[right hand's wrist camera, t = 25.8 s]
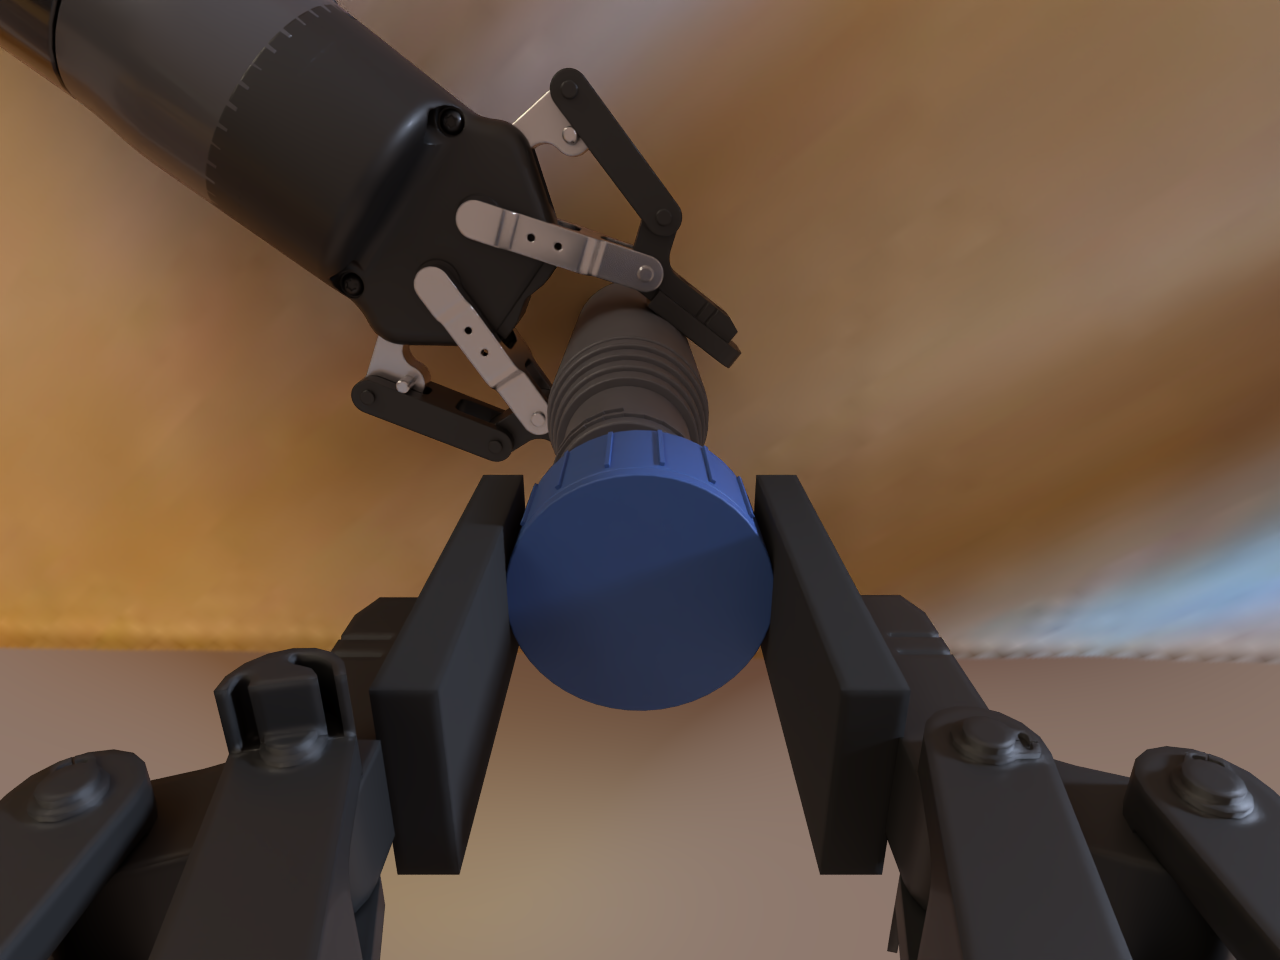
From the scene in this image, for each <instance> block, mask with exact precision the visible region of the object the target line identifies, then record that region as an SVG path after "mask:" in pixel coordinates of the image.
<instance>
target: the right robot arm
mask: <svg viewBox="0 0 1280 960" xmlns="http://www.w3.org/2000/svg"><path fill="white" fill-rule="evenodd" d="M524 512H525V498H524V481H523V475H483V477H482V478H481V480H480V482H479V484H478V486H477V488H476V490H475V492H474V493H473V495H472V497H471V499H470V501H469V503H468V505H467V507H466V508H465V510H464V512H463V514H462V516H461V518H460V520H459V522H458V523H457V525H456V527H455V529H454V531H453V533H452V535H451V537H450V538H449V540H448V542H447V544H446V546H445V548H444V550H443V552H442V553H441V555H440V557H439V559H438V561H437V563H436V565H435V567H434V568H433V570H432V572H431V574H430V576H429V578H428V580H427V582H426V583H425V585H424V587H423V589H422V591H421V593H420V595H419V597H380V598H378V599H377V600H376V601H374V602H373V603H371V604H370V605H369V606H367V607H366V608H364V609H363V610H361V611H360V612H359V613H357V614H356V615H355V616H354V617H353V619H352V620H351V622H350V623H349V625H348V626H347V628H346V629H345V631H344V633H343V634H342V636H341V640H338V642H337V643H336V645H335V646H334V648H333V649H332V651H331V652H329V651H325V650H321V649H317V648H292V649H288V650H283V651H278V652H274V653H269V654H266V655H264V656H262V657H259V658H257V659H254V660H252V661H249V662H247V663H245V664H243V665H242V666H240V667H239V668H237V669H236V670H234V671H233V672H231V673H230V674H228V675H227V676H225V678H224V679H223V680H222V681H221V683H220V684H219V685H218V686H217V688H216V689H215V690H214V695H215V699H216V703H217V707H218V711H219V715H220V719H221V723H222V727H223V731H224V735H225V739H226V743H227V747H228V751H229V756H228V758H227V761H226V763H223V764H219V765H216V766H212V767H209V768H205V769H201V770H197V771H192V772H188V773H183V774H178V775H174V776H169V777H165V778H160V779H156V780H151V781H150V778H149V775H148V771H147V768H146V765H145V762H144V761H143V760H141V759H140V758H139V757H138V756H137V755H135V754H134V753H131V752H126V751H120V750H105V751H96V752H88V753H85V754H81V755H78V756H75V757H71V758H68V759H65V760H62V761H59V762H57V763H55V764H53V765H51V766H49V767H48V768H45V769H44V770H42V771H40V772H38V773H36V774H34V775H32V776H30V777H29V778H28V779H26V780H25V781H24V782H22V783H21V784H20V785H18V786H17V787H16V788H14V789H13V790H12V791H10V792H9V793H8V794H7V795H6V796H4V797H3V798H2V799H1V800H0V960H380V953H381V942H382V932H383V921H384V911H385V902H384V895H383V889H382V883H381V877H380V874H381V871H382V869H383V866H384V863H385V861H386V858H387V855H388V853H389V850H390V847H391V845H392V842H393V848H394V855H395V861H396V867H397V874H398V875H459V874H460V870H461V866H462V862H463V859H464V855H465V851H466V847H467V843H468V839H469V835H470V832H471V828H472V824H473V820H474V816H475V812H476V808H477V805H478V801H479V797H480V793H481V789H482V785H483V782H484V778H485V774H486V770H487V766H488V762H489V758H490V755H491V751H492V747H493V743H494V739H495V735H496V732H497V728H498V724H499V720H500V716H501V712H502V708H503V705H504V701H505V697H506V693H507V689H508V686H509V682H510V678H511V674H512V670H513V666H514V662H515V659H516V655H517V651H518V647H519V644H518V642H517V640H516V638H515V636H514V634H513V632H512V629H511V626H510V623H509V612H508V598H507V584H506V571H507V568H508V564H509V560H510V556H511V554H512V551H513V548H514V545H515V542H516V539H517V536H518V533H519V530H520V528H521V525H520V523H521V521H522V518H523V515H524ZM754 515H755V517H756V519H757V522H758V525H759V528H760V531H761V534H762V537H763V540H764V543H765V546H766V548H767V551H768V554H769V557H770V561H771V564H772V568H773V591H772V605H771V618H770V626H769V628H768V631H767V633H766V636H765V638H764V640H763V642H762V644H761V649H762V653H763V657H764V660H765V664H766V668H767V672H768V676H769V680H770V683H771V687H772V691H773V695H774V699H775V703H776V707H777V710H778V714H779V718H780V722H781V726H782V730H783V733H784V737H785V741H786V745H787V749H788V753H789V756H790V760H791V764H792V768H793V772H794V776H795V780H796V783H797V787H798V791H799V795H800V799H801V802H802V807H803V810H804V814H805V818H806V822H807V826H808V829H809V833H810V837H811V841H812V845H813V849H814V853H815V857H816V860H817V864H818V868H819V872H820V874H821V875H882V871H883V864H884V858H885V852H886V845H887V840H888V842H889V845H890V848H891V850H892V853H893V855H894V858H895V861H896V863H897V866H898V869H899V872H900V877H899V883H898V889H897V895H896V901H895V907H894V913H893V918H892V924H891V930H890V937H889V943H888V950H887V951H890V952H895V953H897V950H898V945H899V951H900V960H1280V796H1279V795H1278V794H1277V793H1276V792H1275V791H1273V790H1272V789H1271V788H1270V787H1268V786H1267V785H1266V784H1264V783H1263V782H1262V781H1260V780H1259V779H1258V778H1256V777H1255V776H1254V775H1252V774H1251V773H1250V772H1248V771H1246V770H1244V769H1242V768H1240V767H1238V766H1236V765H1234V764H1232V763H1230V762H1228V761H1226V760H1224V759H1222V758H1219V757H1216V756H1214V755H1211V754H1206V753H1205V752H1200V751H1197V750H1194V749H1187V748H1178V747H1169V746H1165V747H1159V748H1154V749H1147V750H1146V751H1145V752H1143V753H1142V754H1141V755H1140V756H1139V757H1137V758H1136V759H1135V763H1134V766H1133V769H1132V773H1131V776H1130V777H1125V776H1120V775H1116V774H1111V773H1107V772H1102V771H1098V770H1093V769H1088V768H1084V767H1079V766H1075V765H1072V764H1068V763H1064V762H1061V761H1057V760H1054V759H1053V757H1052V754H1051V752H1050V751H1049V749H1048V748H1047V747H1046V745H1045V743H1044V742H1043V741H1042V739H1041V738H1040V737H1039V736H1038V735H1037V734H1036V733H1034V732H1033V731H1032V730H1030V729H1029V728H1028V727H1026V726H1025V725H1024V724H1023V723H1021V722H1019V721H1017V720H1015V719H1013V718H1010V717H1008V716H1006V715H1004V714H1002V713H1000V712H996V711H992V710H989V709H988V707H987V706H986V704H985V703H984V701H983V700H982V698H981V697H980V695H979V694H978V692H977V691H976V689H975V688H974V686H973V685H972V683H971V682H970V680H969V679H968V677H967V676H966V674H965V672H964V671H963V669H962V668H961V666H960V665H959V663H958V662H957V660H956V659H955V657H954V656H953V655H950V650H949V648H948V647H947V645H946V644H945V642H944V641H943V639H942V638H941V637H939V635H938V634H939V633H938V632H937V630H936V629H935V627H934V626H933V624H932V623H931V621H930V620H929V618H928V617H927V615H926V614H925V612H923V611H922V610H920V609H919V608H918V607H916V606H915V605H913V604H912V603H910V602H909V601H908V600H906V599H905V598H903V597H902V596H901V595H860V594H859V592H858V590H857V588H856V586H855V584H854V583H853V581H852V579H851V577H850V575H849V573H848V571H847V569H846V568H845V566H844V564H843V562H842V560H841V558H840V556H839V554H838V553H837V551H836V549H835V547H834V545H833V543H832V541H831V539H830V538H829V536H828V534H827V532H826V530H825V528H824V526H823V524H822V523H821V521H820V519H819V517H818V515H817V513H816V511H815V509H814V507H813V506H812V504H811V502H810V500H809V498H808V496H807V494H806V492H805V491H804V489H803V487H802V485H801V483H800V481H799V479H798V477H797V476H796V475H756V490H755V506H754Z"/></svg>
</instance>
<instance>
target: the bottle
mask: <svg viewBox="0 0 1280 960" xmlns="http://www.w3.org/2000/svg"><path fill="white" fill-rule="evenodd" d="M708 416H709V410H708V400H707V396H706V392H705V389H704V386H703V383H702V380H701V377H700V375H699V372H698V369H697V366H696V363H695V360H694V358H693V355H692V352H691V349H690V346H689V343H688V341H687V338H686V336H685V335H683V334H682V333H681V332H680V331H678V330H677V329H676V328H675V327H674V326H672V325H671V324H670V323H669V322H667V321H666V320H664V319H663V318H661V317H660V316H659V315H658V314H656V313H655V312H654V311H652V310H651V309H650V308H648V307H647V299H646V297H645V296H644V295H642V294H641V293H640V292H638V291H637V290H635V289H632V288H628V287H625V286H622V285H619V284H616V283H613V284H610V285H608V286H606V287H604V288H602V289H600V290H599V291H598V292H596V293H595V294H594V295H593V296H592V297H591V298H590V299H589V300H588V301H587V302H586V304H585V305H584V307H583V309H582V310H581V313H580V315H579V318H578V320H577V323H576V325H575V328H574V331H573V333H572V336H571V338H570V341H569V344H568V346H567V349H566V351H565V354H564V357H563V359H562V362H561V364H560V367H559V370H558V372H557V375H556V377H555V380H554V382H553V385H552V388H551V391H550V395H549V399H548V406H547V426H548V433H549V438H550V441H551V444H552V447H553V449H554V452H555V455H556V458H555V461H554V464H555V463H556V462H557V461H558V460H559V459H560V458H561V457H563V456H564V452H566V451H567V450H568V451H569V452H570V451H571V450H573V449H574V448H576V447H578V446H579V445H581V444H583V443H585V442H587V441H589V440H592V439H595V438H597V437H600V436H603V435H607V434H608V432H613V433H615V432H621V431H631V430H651V431H657V430H662V432H664V433H669V434H673V435H676V436H680V437H683V438H685V439H688V440H690V441H692V442H695V443H697V444H699V445H700V446H702V447H703V446H704V443H705V440H706V436H707V431H708ZM554 464H553V465H554Z"/></svg>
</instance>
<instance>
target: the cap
mask: <svg viewBox="0 0 1280 960" xmlns="http://www.w3.org/2000/svg"><path fill="white" fill-rule="evenodd" d="M520 525H521V528H520V530H519V533H518V536H517V539H516V542H515V545H514V548H513V551H512V554H511V556H510V560H509V564H508V568H507V571H506V584H507V598H508V612H509V623H510V626H511V629H512V632H513V634H514V636H515V638H516V640H517V642H518V644H519V646H520V648H521V649H522V651H523V652H524V654H525V655H526V656H527V658H528V659H529V661H530V662H531V663H532V664H533V665H534V666H535V667H536V668H537V669H538V670H539V672H540V673H542V674H543V675H544V676H545V677H546V678H548V679H549V680H550V681H551V682H552V683H554V684H555V685H557V686H558V687H560V688H561V689H563V690H564V691H566V692H568V693H570V694H572V695H574V696H576V697H578V698H580V699H583V700H586V701H588V702H591V703H594V704H597V705H601V706H605V707H609V708H615V709H622V710H640V711H646V710H658V709H665V708H670V707H675V706H679V705H682V704H686V703H689V702H692V701H694V700H697V699H699V698H701V697H704V696H706V695H708V694H710V693H711V692H713V691H715V690H717V689H718V688H720V687H722V686H723V685H724V684H726V683H727V682H728V681H730V680H731V679H732V678H734V677H735V676H736V675H737V674H738V673H739V672H740V671H741V670H742V669H743V668H744V667H745V666H746V665H747V664H748V662H749V661H750V660H751V659H752V657H753V656H754V655H755V654H756V652H757V650H758V649H759V647H760V645H761V644H762V642H763V640H764V638H765V636H766V633H767V631H768V628H769V626H770V618H771V605H772V591H773V568H772V564H771V561H770V557H769V554H768V551H767V548H766V546H765V543H764V540H763V537H762V534H761V531H760V528H759V525H758V522H757V519H756V517H755V515H754V512H753V509H752V506H751V503H750V500H749V498H748V495H747V493H746V491H745V488H744V485H743V482H742V479H741V478H740V476H738V477H736V476H735V474H734V473H733V471H732V470H731V469H730V468H729V467H728V466H727V465H726V464H725V463H724V462H723V461H722V460H721V459H719V458H718V457H717V456H715V455H714V454H713V453H712V452H710V451H709V450H708V447H706V446H705V445H704V446H703V447H702V446H700V445H699V444H697V443H695V442H692V441H690V440H688V439H685V438H683V437H680V436H676V435H673V434H669V433H664V432H662V430H657V431H651V430H631V431H621V432H615V433H613V432H608V434H607V435H603V436H600V437H597V438H595V439H592V440H589V441H587V442H585V443H583V444H581V445H579V446H578V447H576V448H574V449H573V450H571V451H570V452H569V451H568V450H567V451H566V452H564V456H563V457H561V458H560V459H559V460H558V461H557V462H556V463H555V464H554V465H553V466H552V467H551V468H550V469H549V470H548V471H547V473H546V474H545V475H544V476H543V478H542V479H541V481H540V482H539V484H536V483H535V485H534V486H533V489H532V492H531V495H530V498H529V501H528V503H527V506H526V509H525V512H524V515H523V518H522V521H521V523H520Z"/></svg>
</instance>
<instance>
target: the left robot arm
mask: <svg viewBox="0 0 1280 960" xmlns="http://www.w3.org/2000/svg"><path fill="white" fill-rule="evenodd" d="M0 47H1V48H3V49H4V50H6V51H7V52H9V53H10V54H11V55H13V56H14V57H16V58H17V59H19V60H20V61H21V62H23V63H24V64H26V65H27V66H29V67H30V68H31V69H33V70H34V71H36V72H37V73H39V74H40V75H41V76H43V77H44V78H46V79H47V80H49V81H50V82H51V83H53V84H54V85H56V86H57V87H59V88H60V89H62V90H63V91H64V92H66V93H67V94H69V95H70V96H72V97H73V98H74V99H77V100H78V101H79V102H80V103H81V104H83V105H84V106H85V107H87V108H88V109H89V110H91V111H92V112H93V113H94V114H96V115H97V116H98V117H99V118H100V119H101V120H103V121H104V122H105V123H106V124H107V125H108V126H109V127H111V128H112V129H113V130H114V131H115V132H116V133H117V134H118V135H119V136H120V137H122V138H123V139H124V140H125V141H126V142H127V143H128V144H130V145H131V146H132V147H133V148H134V149H135V150H137V151H138V152H139V153H140V154H142V155H143V156H144V157H146V158H147V159H148V160H150V161H151V162H152V163H154V164H155V165H157V166H158V167H159V168H161V169H162V170H164V171H165V172H167V173H168V174H170V175H171V176H172V177H174V178H175V179H177V180H178V181H180V182H181V183H182V184H184V185H185V186H187V187H188V188H190V189H191V190H193V191H194V192H195V193H197V194H198V195H200V196H201V197H203V198H204V199H205V200H207V201H208V202H210V203H211V204H213V205H214V206H216V207H217V208H218V209H220V210H221V211H223V212H224V213H226V214H227V215H228V216H230V217H231V218H233V219H234V220H236V221H237V222H238V223H240V224H241V225H243V226H244V227H246V228H247V229H249V230H250V231H252V232H253V233H254V234H256V235H257V236H259V237H260V238H262V239H263V240H264V241H266V242H267V243H269V244H270V245H272V246H273V247H274V248H276V249H277V250H279V251H280V252H282V253H283V254H285V255H286V256H287V257H289V258H290V259H292V260H293V261H295V262H296V263H297V264H299V265H300V266H302V267H303V268H305V269H306V270H307V271H309V272H310V273H312V274H313V275H315V276H316V277H318V278H319V279H320V280H322V281H323V282H325V283H326V284H328V285H329V286H331V287H332V288H334V289H335V290H337V291H338V292H340V293H342V294H343V295H345V296H346V297H348V298H349V299H351V300H352V301H353V302H354V303H355V304H356V305H357V306H358V307H359V308H360V310H361V311H362V312H363V314H364V315H365V317H366V319H367V321H368V322H369V324H370V326H371V328H372V329H373V330H374V331H375V333H376V334H377V335H378V338H377V342H376V345H375V348H374V352H373V355H372V359H371V362H370V365H369V369H368V372H367V375H366V377H365V378H364V379H362V380H361V381H360V382H358V383H357V384H356V385H355V386H354V387H353V389H352V393H351V397H352V401H353V403H354V405H355V406H356V407H357V408H358V409H359V410H361V411H363V412H365V413H367V414H370V415H373V416H375V417H378V418H381V419H383V420H386V421H388V422H391V423H394V424H396V425H399V426H401V427H404V428H407V429H409V430H412V431H415V432H417V433H420V434H422V435H425V436H428V437H430V438H433V439H435V440H438V441H441V442H443V443H446V444H449V445H451V446H454V447H456V448H459V449H462V450H464V451H467V452H470V453H472V454H475V455H477V456H480V457H483V458H485V459H488V460H491V461H495V462H499V461H503V460H505V459H507V458H508V457H509V455H510V454H511V452H512V451H514V450H516V449H517V448H519V447H520V446H522V445H523V444H525V443H527V442H528V441H530V440H533V439H546V440H548V441H550V438H549V433H548V426H547V406H548V399H549V395H550V391H551V388H552V384H551V382H550V381H549V380H548V378H547V377H546V375H545V374H544V373H543V371H542V370H541V368H540V367H539V366H538V364H537V363H536V361H535V360H534V358H533V357H532V354H531V351H530V349H529V347H528V345H527V344H526V342H525V341H524V340H523V338H522V337H521V335H520V334H519V333H518V331H517V330H516V328H515V326H516V325H517V323H518V322H519V321H520V319H521V318H522V316H523V315H524V313H525V311H526V309H527V306H528V303H529V300H530V297H531V294H533V293H534V292H535V291H536V290H538V289H539V288H540V287H541V286H542V285H544V283H545V282H546V281H547V280H548V279H549V278H550V276H551V275H552V273H553V272H554V270H555V269H556V268H557V266H558V267H561V268H564V269H567V270H570V271H573V272H576V273H580V274H583V275H589V276H594V277H598V278H601V279H604V280H607V281H610V282H613V283H616V284H619V285H622V286H625V287H628V288H632V289H635V290H637V291H638V292H640V293H641V294H642V295H644V296H645V297H646V299H647V307H648V308H650V309H651V310H652V311H654V312H655V313H656V314H658V315H659V316H660V317H661V318H663V319H664V320H666V321H667V322H669V323H670V324H671V325H672V326H674V327H675V328H676V329H677V330H678V331H680V332H681V333H682V334H683V335H685V336H686V337H687V338H689V339H690V340H691V341H693V342H694V343H695V344H696V345H698V346H699V347H700V348H702V349H703V350H704V351H706V352H707V353H708V354H709V355H711V356H712V357H713V358H715V359H716V360H717V361H719V362H720V363H721V364H723V365H724V366H725V367H727V368H730V366H731V365H732V364H733V363H734V361H735V360H736V359H737V358H738V357H739V355H740V354H741V352H740V350H739V348H738V347H737V345H736V344H735V343H734V342H733V341H731V339H732V338H733V337H734V336H735V334H736V333H737V330H736V328H735V326H734V324H733V322H732V321H731V319H730V317H729V316H728V315H727V313H726V312H725V311H724V310H722V309H721V308H720V307H719V306H717V305H716V304H715V303H713V302H712V301H711V300H710V299H709V298H707V297H706V296H705V295H703V294H702V293H701V292H700V291H698V290H697V289H696V288H695V287H693V286H692V285H691V284H690V283H688V282H687V281H686V280H685V279H683V278H682V277H681V276H679V275H678V274H677V273H676V272H675V271H674V270H673V269H672V268H671V266H670V262H669V255H670V251H671V247H672V244H673V241H674V238H675V234H676V231H677V230H678V229H679V227H680V225H681V222H682V213H681V210H680V207H679V206H678V204H677V203H676V202H675V200H674V199H673V197H672V196H671V195H670V193H669V192H668V191H667V189H666V188H665V186H664V185H663V184H662V182H661V181H660V180H659V178H658V177H657V176H656V174H655V173H654V171H653V170H652V169H651V167H650V166H649V165H648V163H647V162H646V160H645V159H644V158H643V156H642V155H641V154H640V152H639V151H638V149H637V148H636V147H635V145H634V144H633V143H632V141H631V140H630V138H629V137H628V136H627V134H626V133H625V132H624V130H623V129H622V127H621V126H620V125H619V123H618V122H617V121H616V119H615V118H614V116H613V115H612V114H611V112H610V111H609V110H608V108H607V107H606V106H605V104H604V103H603V101H602V100H601V99H600V97H599V96H598V95H597V93H596V92H595V90H594V89H593V88H592V86H591V85H590V84H589V82H588V81H587V79H586V78H585V77H584V75H583V74H582V73H581V72H579V71H578V70H576V69H573V68H565V69H562V70H560V71H558V72H557V73H556V74H555V75H554V76H553V78H552V80H551V84H550V90H549V91H548V92H547V93H546V94H545V95H543V96H542V97H541V98H540V99H539V100H538V101H537V102H536V103H535V104H534V105H533V106H531V107H530V108H529V109H528V110H527V111H526V112H525V113H524V114H523V115H522V116H521V117H519V118H518V119H517V120H516V121H515V122H514V123H513V124H510V123H508V122H506V121H503V120H497V119H490V118H486V117H482V116H480V115H478V114H476V113H475V112H473V111H472V110H470V109H469V108H468V107H466V106H465V105H464V104H463V103H461V102H460V101H459V100H458V99H456V98H455V97H454V96H452V95H451V94H450V93H449V92H447V91H446V90H445V89H444V88H442V87H441V86H440V85H439V84H437V83H436V82H435V81H434V80H432V79H431V78H430V77H428V76H427V75H426V74H425V73H423V72H422V71H421V70H420V69H418V68H417V67H416V66H415V65H413V64H412V63H411V62H410V61H408V60H407V59H406V58H404V57H403V56H402V55H401V54H399V53H398V52H397V51H396V50H394V49H393V48H392V47H391V46H389V45H388V44H387V43H386V42H384V41H383V40H382V39H380V38H379V37H378V36H377V35H375V34H374V33H373V32H372V31H370V30H369V29H368V28H367V27H365V26H364V25H363V24H362V23H360V22H359V21H358V20H356V19H355V18H354V17H353V16H351V15H350V14H349V13H348V12H346V11H345V10H344V9H343V8H341V7H340V6H339V5H338V3H337V2H336V1H335V0H0ZM542 144H551V145H554V146H555V147H556V148H557V149H558V150H559V151H560V152H562V153H563V154H565V155H568V156H571V157H578V156H581V155H583V154H584V153H585V152H586V151H588V150H590V151H591V153H592V154H593V155H594V157H595V158H596V159H597V161H598V162H599V163H600V165H601V166H602V167H603V169H604V170H605V171H606V173H607V174H608V175H609V177H610V178H611V179H612V181H613V182H614V183H615V185H616V186H617V187H618V189H619V190H620V191H621V193H622V194H623V195H624V197H625V198H626V199H627V201H628V202H629V203H630V205H631V206H632V207H633V209H634V210H635V211H636V213H637V214H638V215H639V217H640V218H641V223H640V226H639V229H638V233H637V236H636V240H635V243H634V245H633V244H630V243H627V242H624V241H621V240H618V239H615V238H612V237H609V236H606V235H604V234H602V233H599V232H597V231H594V230H591V229H588V228H585V227H582V226H579V225H576V224H573V223H570V222H567V221H564V220H561V219H558V218H557V217H556V214H555V211H554V208H553V205H552V202H551V198H550V195H549V192H548V189H547V186H546V183H545V180H544V177H543V174H542V171H541V168H540V165H539V161H538V158H537V155H536V152H535V148H536V147H537V146H539V145H542ZM409 345H435V346H459V347H460V349H461V350H462V351H463V353H464V354H465V355H466V357H467V358H468V359H469V361H470V362H471V363H472V365H473V366H474V367H475V369H476V370H477V371H478V373H479V374H480V375H481V377H482V378H483V379H484V381H485V382H486V383H487V384H488V385H489V386H490V387H491V388H492V389H495V390H496V391H497V392H498V393H499V394H500V395H501V397H502V398H503V399H504V401H505V402H506V403H507V405H508V406H509V407H510V408H509V409H507V410H506V411H505V410H503V409H500V408H497V407H495V406H492V405H490V404H487V403H485V402H482V401H480V400H477V399H475V398H472V397H470V396H467V395H464V394H462V393H459V392H457V391H454V390H452V389H449V388H447V387H444V386H442V385H439V384H437V383H434V382H431V375H430V372H429V370H428V368H427V367H426V366H425V365H424V364H423V363H421V362H419V361H418V360H416V359H415V358H414V357H413V355H412V354H411V352H410V348H409ZM484 349H486V350H487V351H488V353H485V352H484ZM550 442H551V441H550Z"/></svg>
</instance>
